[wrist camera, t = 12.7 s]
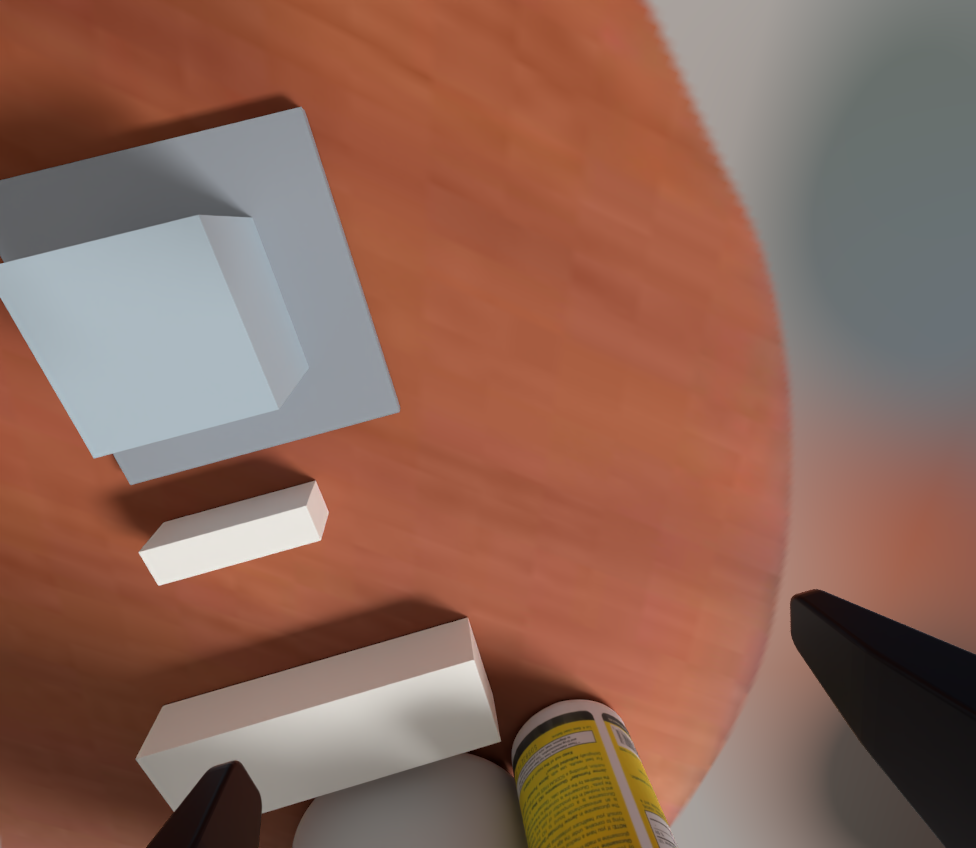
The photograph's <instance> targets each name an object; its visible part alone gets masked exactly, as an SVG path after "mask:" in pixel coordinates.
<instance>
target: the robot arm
mask: <svg viewBox="0 0 976 848" xmlns="http://www.w3.org/2000/svg"><path fill="white" fill-rule="evenodd" d="M790 610H791V611H790V614H791V615H790V616H791V636H792V639H793V642H794V644H795V646H796V648H797V650H798V651H799V653H800V654H801V656H802V657H803V658H804V660H805V662H806V663H807V665H808V666H809V668H810V669H811V670H812V672H813V674H814V675H815V677H816V678H817V679H818V681H819V682H820V684H821V685H822V687H823V688H824V690H825V691H826V693H827V694H828V696H829V697H830V699H831V700H832V702H833V703H834V705H835V706H836V708H837V709H838V711H839V712H840V713H841V715H842V717H843V718H844V720H845V721H846V722H847V724H848V725H849V727H850V728H851V730H852V731H853V732H854V734H855V735H856V737H857V738H858V740H859V741H860V742H861V744H862V745H863V746H864V747H865V749H866V750H867V751H868V753H869V754H870V755H871V756H872V758H873V759H874V760H875V761H876V763H877V764H878V765H879V766H880V768H881V769H882V770H883V771H884V772H885V774H886V775H887V776H888V777H889V779H890V780H891V781H892V782H893V783H894V785H895V786H896V787H897V788H898V790H899V791H900V792H901V793H902V795H903V796H904V797H905V798H906V799H907V801H908V802H909V803H910V805H911V806H912V807H913V808H914V809H915V811H916V812H917V813H918V814H919V816H920V817H921V818H922V819H923V820H924V822H925V823H926V824H927V825H928V827H929V828H930V829H931V830H932V832H933V833H934V834H935V835H936V837H937V838H938V839H939V840H940V841H941V843H942V844H943V845H944V846H945V848H976V654H973V653H971V652H969V651H966V650H964V649H961V648H959V647H957V646H954V645H952V644H949V643H947V642H944V641H942V640H940V639H937V638H935V637H933V636H930V635H927V634H925V633H923V632H921V631H918V630H916V629H913V628H911V627H909V626H906V625H904V624H901V623H899V622H896V621H894V620H892V619H889V618H887V617H885V616H882V615H880V614H877V613H875V612H873V611H870V610H868V609H865V608H863V607H860V606H858V605H856V604H853V603H851V602H849V601H846V600H844V599H841V598H839V597H837V596H834V595H832V594H829V593H827V592H825V591H822V590H818V589H813V590H809V591H806V592H802V593H799V594H796V595H794V596H793V597H792V598H791V602H790ZM261 815H262V800H261V795H260V792H259V790H258V789H257V787H256V785H255V784H254V782H253V780H252V779H251V777H250V776H249V774H248V772H247V771H246V769H245V768H244V766H243V764H242V763H241V762H239V761H237V760H233V761H229V762H226V763H223V764H219V765H216V766H213V767H211V768H210V769H209V770H207V771H206V773H205V774H204V775H203V776H202V777H201V779H200V780H199V781H198V782H197V784H196V785H195V786H194V787H193V789H192V790H191V791H190V793H189V794H188V795H187V796H186V798H185V799H184V800H183V801H182V803H181V804H180V805H179V807H178V808H177V809H176V810H175V812H174V813H173V814H172V815H171V817H170V818H169V819H168V820H167V822H166V823H165V824H164V826H163V827H162V828H161V829H160V831H159V832H158V833H157V834H156V836H155V837H154V838H153V840H152V841H151V842H150V843H149V845H148V846H147V847H146V848H258V846H259V835H260V825H261Z"/></svg>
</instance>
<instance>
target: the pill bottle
mask: <svg viewBox="0 0 976 848" xmlns="http://www.w3.org/2000/svg"><path fill="white" fill-rule="evenodd" d="M512 766H513V773H514V779H515V783H516V789H517V794H518V799H519V804H520V809H521V814H522V819H523V824H524V829H525V834H526V839H527V845H528V848H678V846H677V844H676V841H675V839H674V837H673V834H672V832H671V830H670V827H669V825H668V822H667V820H666V818H665V816H664V813H663V811H662V809H661V807H660V804H659V802H658V800H657V797H656V795H655V793H654V790H653V788H652V786H651V783H650V781H649V779H648V777H647V774H646V772H645V770H644V767H643V765H642V763H641V760H640V758H639V756H638V753H637V751H636V749H635V747H634V744H633V742H632V740H631V737H630V735H629V733H628V731H627V729H626V727H625V725H624V723H623V721H622V719H621V718H620V717H619V715H618V714H617V713H616V712H615V711H613V710H612V709H611V708H609V707H608V706H606V705H604V704H601V703H599V702H596V701H591V700H581V699H576V700H566V701H561V702H558V703H555V704H552V705H550V706H548V707H546V708H544V709H543V710H541V711H539V712H538V713H536V714H535V715H534V716H532V717H531V718H530V719H529V720H528V721H527V722H526V723H525V724H524V725H523V726H522V728H521V729H520V730H519V732H518V734H517V736H516V738H515V740H514V743H513V746H512Z"/></svg>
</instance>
